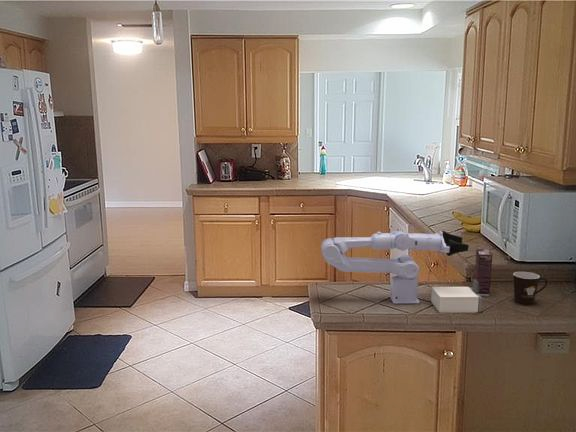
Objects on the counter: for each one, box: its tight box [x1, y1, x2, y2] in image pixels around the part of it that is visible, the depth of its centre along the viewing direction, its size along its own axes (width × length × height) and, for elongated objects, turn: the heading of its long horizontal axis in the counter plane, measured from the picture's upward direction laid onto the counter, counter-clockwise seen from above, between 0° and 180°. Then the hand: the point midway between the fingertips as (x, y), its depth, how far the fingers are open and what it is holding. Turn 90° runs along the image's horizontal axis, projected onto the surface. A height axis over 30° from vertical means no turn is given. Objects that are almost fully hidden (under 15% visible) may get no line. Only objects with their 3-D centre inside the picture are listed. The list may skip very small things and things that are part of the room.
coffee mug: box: [512, 271, 548, 306], centre depth 194 cm, size 12×9×10 cm
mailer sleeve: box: [430, 286, 479, 314], centre depth 190 cm, size 13×11×6 cm
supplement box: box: [473, 248, 493, 297], centre depth 204 cm, size 9×5×16 cm, turn 168°
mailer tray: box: [468, 279, 483, 313], centre depth 190 cm, size 13×11×9 cm
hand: (464, 244), depth 193 cm, fingers open, 7 cm apart
